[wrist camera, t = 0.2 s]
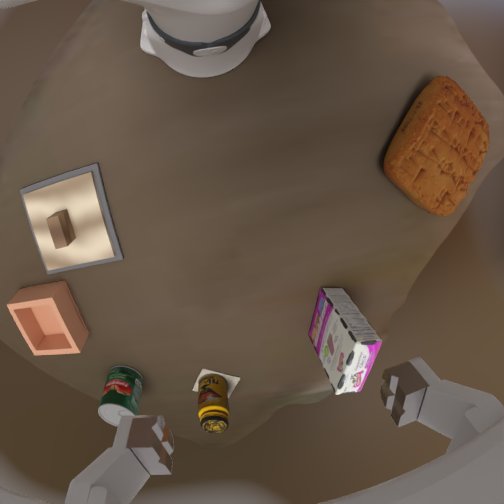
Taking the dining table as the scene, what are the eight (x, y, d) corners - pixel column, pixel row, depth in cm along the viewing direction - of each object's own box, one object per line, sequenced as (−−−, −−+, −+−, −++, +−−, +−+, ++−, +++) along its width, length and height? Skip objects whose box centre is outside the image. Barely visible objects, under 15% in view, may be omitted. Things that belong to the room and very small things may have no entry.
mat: (21, 188, 40) (19, 189, 39) (98, 162, 41) (97, 163, 40) (49, 272, 46) (47, 274, 46) (124, 257, 47) (123, 259, 47)
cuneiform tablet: (422, 69, 40) (451, 66, 33) (473, 130, 45) (501, 135, 38) (364, 165, 46) (390, 174, 39) (424, 217, 51) (450, 232, 44)
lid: (25, 193, 40) (11, 200, 36) (92, 171, 41) (82, 176, 37) (49, 268, 46) (39, 280, 42) (115, 254, 46) (108, 266, 42)
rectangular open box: (20, 288, 47) (6, 304, 41) (65, 280, 47) (52, 297, 42) (45, 337, 52) (34, 355, 46) (89, 333, 52) (80, 352, 47)
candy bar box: (330, 334, 59) (361, 392, 44) (307, 335, 58) (333, 396, 44) (344, 286, 55) (384, 341, 40) (319, 285, 54) (355, 344, 39)
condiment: (202, 368, 59) (203, 414, 48) (240, 377, 61) (247, 421, 50) (192, 389, 61) (191, 433, 50) (228, 397, 64) (232, 440, 53)
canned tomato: (127, 393, 60) (119, 431, 50) (102, 372, 57) (90, 410, 47) (151, 381, 59) (145, 421, 49) (124, 359, 56) (114, 399, 46)
